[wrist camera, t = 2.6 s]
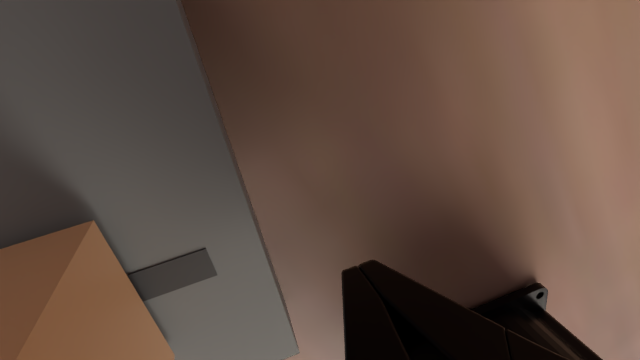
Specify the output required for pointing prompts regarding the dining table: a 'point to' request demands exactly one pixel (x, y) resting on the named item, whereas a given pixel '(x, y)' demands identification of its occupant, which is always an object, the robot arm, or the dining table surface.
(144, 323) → the orange fader
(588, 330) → the dining table surface
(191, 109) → the console board
